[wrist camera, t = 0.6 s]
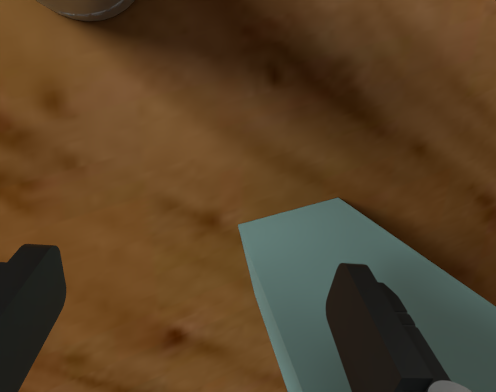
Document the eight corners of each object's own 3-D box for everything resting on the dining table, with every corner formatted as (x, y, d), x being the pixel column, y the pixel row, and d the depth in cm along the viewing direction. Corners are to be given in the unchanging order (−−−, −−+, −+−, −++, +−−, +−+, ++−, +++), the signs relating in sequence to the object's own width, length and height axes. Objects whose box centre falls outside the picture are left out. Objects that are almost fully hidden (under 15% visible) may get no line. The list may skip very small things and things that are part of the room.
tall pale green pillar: (235, 223, 30) (339, 499, 10) (339, 195, 32) (632, 390, 11) (253, 297, 33) (364, 633, 13) (349, 269, 34) (595, 537, 14)
